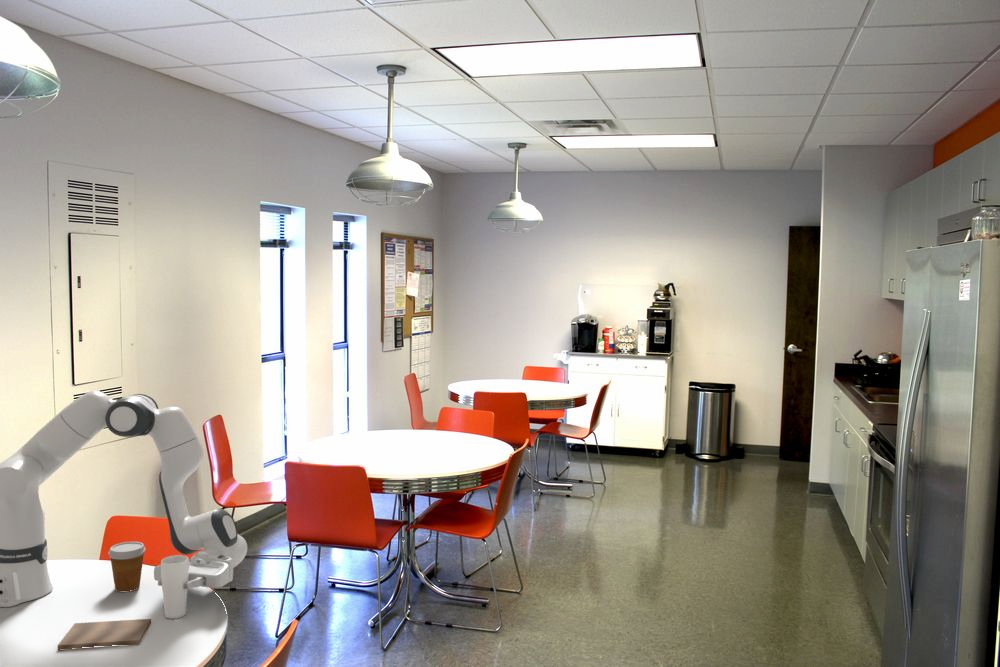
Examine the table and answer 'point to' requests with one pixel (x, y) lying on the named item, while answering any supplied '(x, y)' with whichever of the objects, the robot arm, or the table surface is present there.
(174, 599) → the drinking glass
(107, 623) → the walnut board
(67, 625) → the table surface
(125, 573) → the disposable coffee cup
